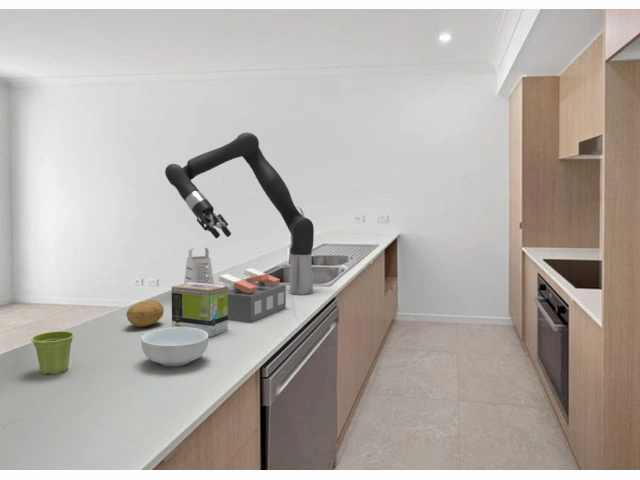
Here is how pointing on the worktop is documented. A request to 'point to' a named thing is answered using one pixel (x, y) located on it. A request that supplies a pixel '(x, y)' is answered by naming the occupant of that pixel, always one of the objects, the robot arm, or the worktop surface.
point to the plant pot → (53, 351)
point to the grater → (198, 268)
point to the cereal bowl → (174, 345)
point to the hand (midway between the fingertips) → (224, 236)
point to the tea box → (200, 307)
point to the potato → (145, 313)
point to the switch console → (255, 302)
